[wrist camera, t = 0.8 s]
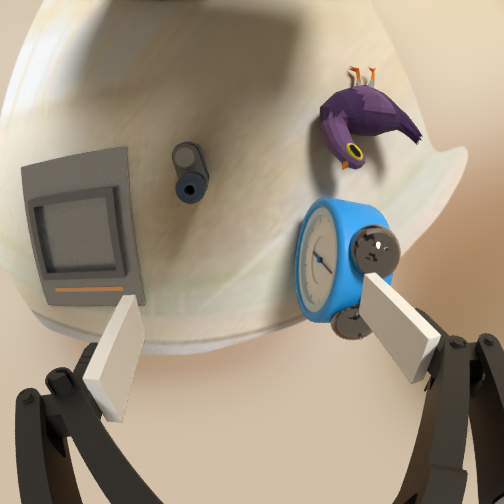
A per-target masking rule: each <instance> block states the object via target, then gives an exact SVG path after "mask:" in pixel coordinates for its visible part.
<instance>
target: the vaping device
mask: <svg viewBox="0 0 504 504" xmlns="http://www.w3.org/2000/svg"><path fill="white" fill-rule="evenodd" d="M194 145H196V146H194ZM172 159H173V163H174V166H175V169H176V172H177V175H178V178H179V180H178V182H177V184H176V194H177V196H178V198H179V199H180V200H181V201H183V202H185V203H188V204H193V203H196V202H198V201H200V200H201V199H202V198H203V196H204V194H205V191H206V190H207V187H208V182H209V174H208V171H207V167H206V164H205V160H204V157H203V153H202V149H201V147H200V146H199V145H197V144H194V143H192V142H183V143H180V144H178V145H177V146H176V147H175V148H174V150H173V153H172Z"/></svg>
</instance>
